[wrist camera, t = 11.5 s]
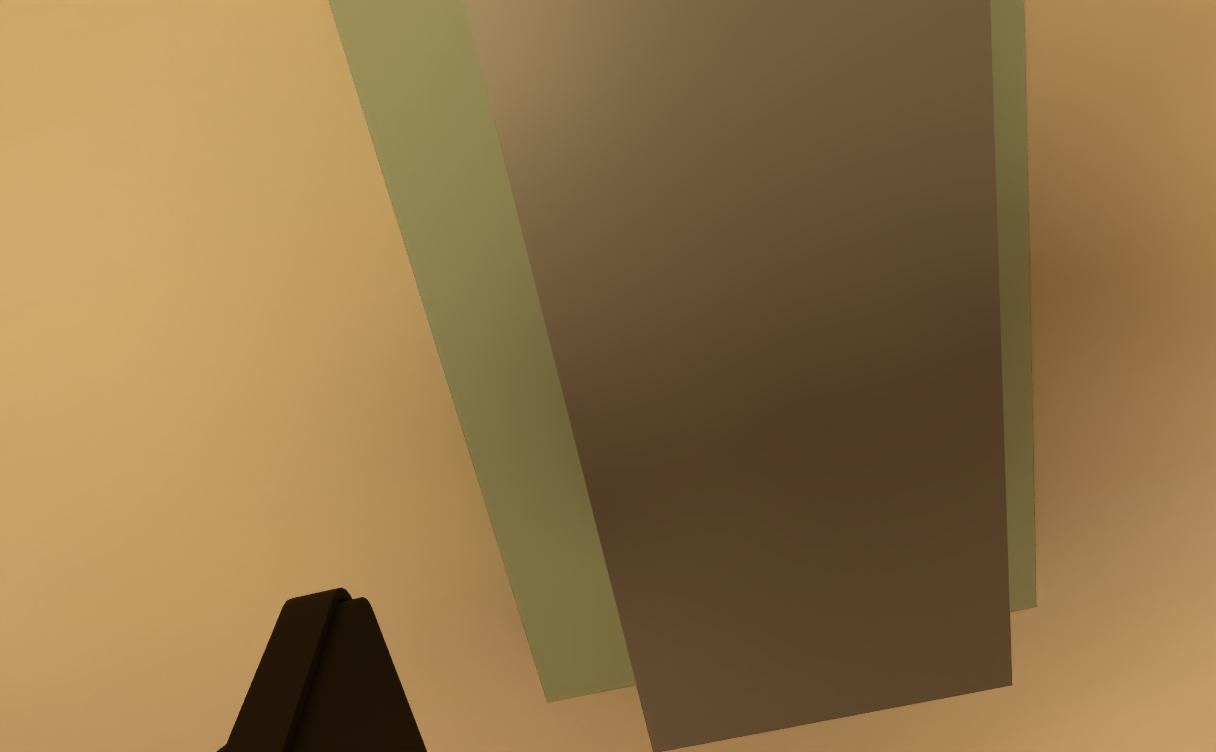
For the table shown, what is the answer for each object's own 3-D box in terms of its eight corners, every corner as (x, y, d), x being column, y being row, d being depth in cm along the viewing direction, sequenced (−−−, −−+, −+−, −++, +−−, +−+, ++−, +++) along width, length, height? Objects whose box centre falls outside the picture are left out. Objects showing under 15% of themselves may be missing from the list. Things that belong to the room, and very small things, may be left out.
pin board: (1009, 569, 24) (1116, 715, 19) (548, 660, 24) (544, 823, 20) (975, -402, 15) (1149, -554, 11) (277, -232, 16) (163, -308, 11)
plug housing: (893, 493, 21) (1012, 685, 15) (629, 546, 21) (653, 753, 15) (839, -99, 16) (985, -129, 10) (495, -21, 16) (461, -9, 11)
